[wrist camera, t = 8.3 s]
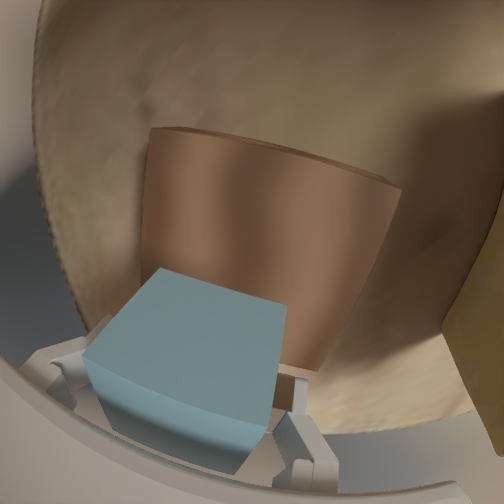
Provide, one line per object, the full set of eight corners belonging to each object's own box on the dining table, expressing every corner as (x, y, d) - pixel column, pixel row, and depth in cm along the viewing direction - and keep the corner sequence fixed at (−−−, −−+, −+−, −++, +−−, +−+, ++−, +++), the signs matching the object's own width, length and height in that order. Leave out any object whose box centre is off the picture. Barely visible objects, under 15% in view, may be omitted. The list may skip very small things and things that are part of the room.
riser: (382, 177, 16) (402, 190, 12) (317, 337, 22) (317, 371, 19) (180, 126, 17) (150, 128, 13) (164, 291, 23) (142, 318, 20)
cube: (287, 305, 10) (268, 427, 5) (256, 383, 12) (233, 475, 8) (160, 267, 10) (81, 355, 6) (159, 351, 12) (113, 429, 8)
